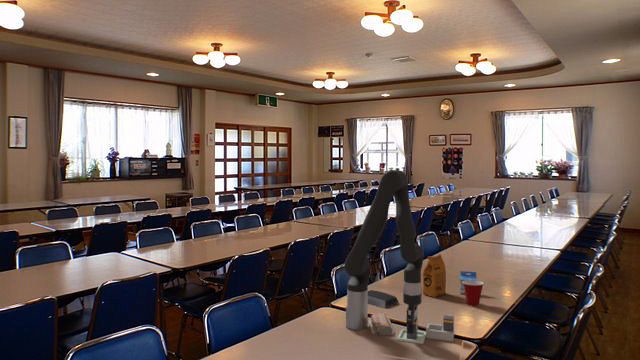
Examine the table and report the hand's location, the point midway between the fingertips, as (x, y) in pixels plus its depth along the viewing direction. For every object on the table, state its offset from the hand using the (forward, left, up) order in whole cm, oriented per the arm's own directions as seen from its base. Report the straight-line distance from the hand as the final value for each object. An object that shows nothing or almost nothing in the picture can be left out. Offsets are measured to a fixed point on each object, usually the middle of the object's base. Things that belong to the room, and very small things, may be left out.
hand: (412, 329), depth 187 cm
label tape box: (+19, +73, -4) cm, 76 cm away
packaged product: (-15, +7, -5) cm, 17 cm away
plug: (0, 0, -3) cm, 3 cm away
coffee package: (+1, +66, -4) cm, 66 cm away
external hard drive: (-25, +43, -5) cm, 50 cm away
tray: (0, 0, -4) cm, 4 cm away
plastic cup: (+22, +55, -4) cm, 60 cm away
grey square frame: (+11, +6, -4) cm, 13 cm away
